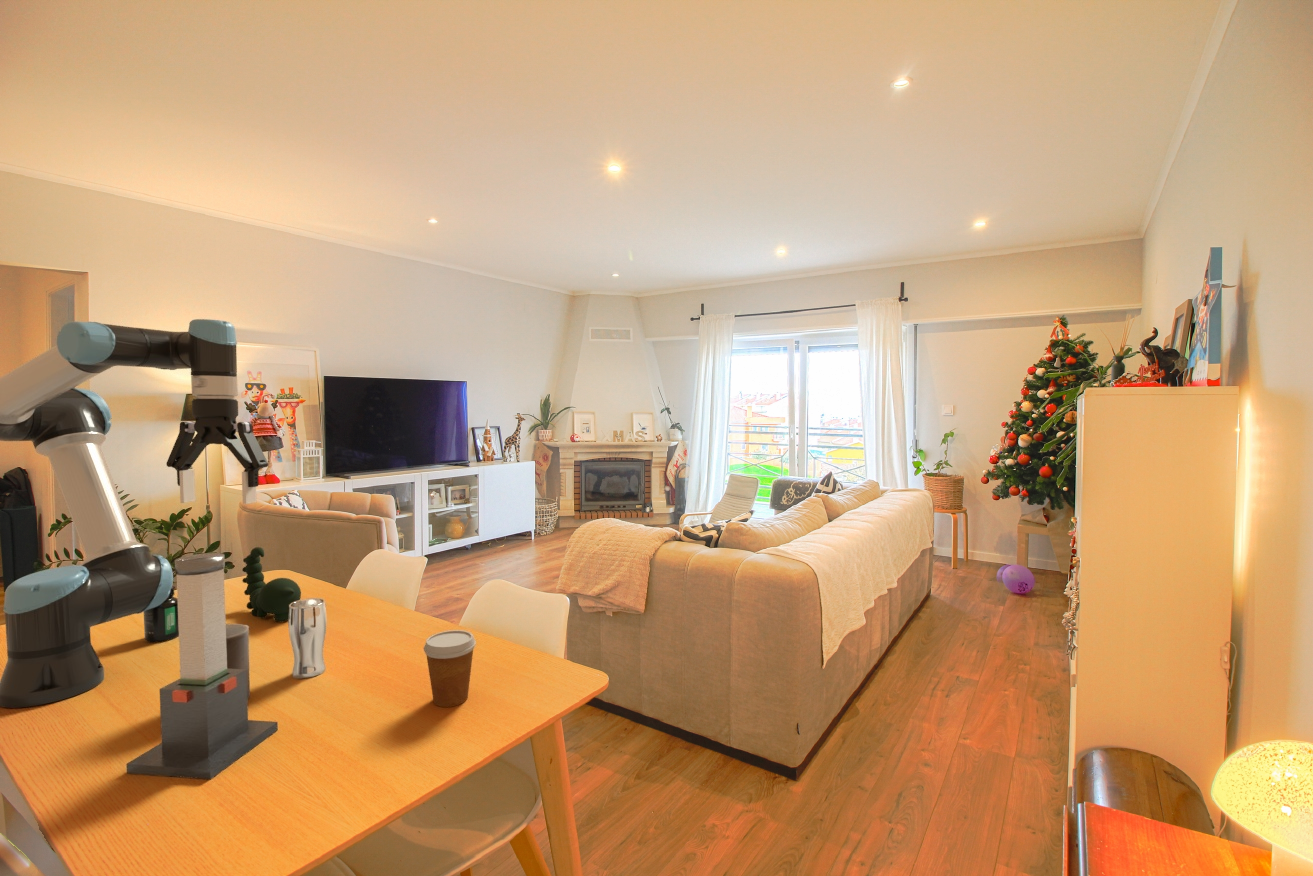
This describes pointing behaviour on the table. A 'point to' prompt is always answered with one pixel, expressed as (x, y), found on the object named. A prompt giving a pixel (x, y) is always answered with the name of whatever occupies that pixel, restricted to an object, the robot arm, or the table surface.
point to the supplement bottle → (162, 620)
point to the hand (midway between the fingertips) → (218, 502)
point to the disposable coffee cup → (450, 666)
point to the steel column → (201, 618)
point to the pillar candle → (238, 649)
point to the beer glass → (307, 636)
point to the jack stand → (203, 729)
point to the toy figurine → (268, 590)
